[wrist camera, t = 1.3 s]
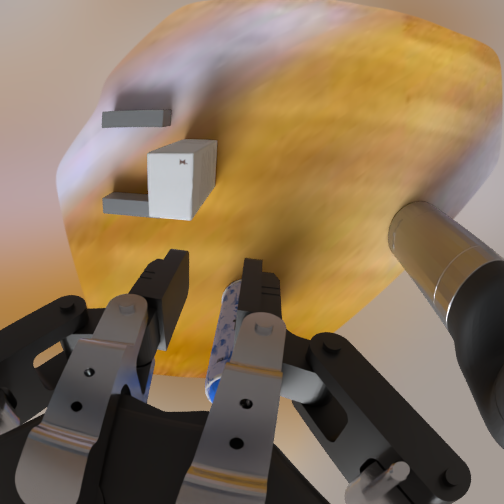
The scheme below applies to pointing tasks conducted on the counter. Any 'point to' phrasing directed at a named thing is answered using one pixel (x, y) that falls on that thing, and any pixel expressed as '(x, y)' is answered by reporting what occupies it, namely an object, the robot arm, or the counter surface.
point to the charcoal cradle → (132, 118)
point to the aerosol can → (223, 339)
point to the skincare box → (181, 178)
